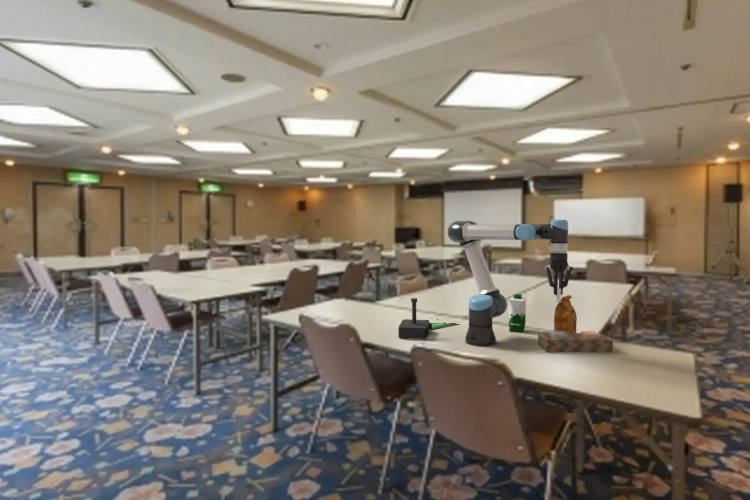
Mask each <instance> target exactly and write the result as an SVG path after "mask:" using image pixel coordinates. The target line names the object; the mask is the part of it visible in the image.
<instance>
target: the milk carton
mask: <svg viewBox="0 0 750 500" xmlns="http://www.w3.org/2000/svg"><path fill="white" fill-rule="evenodd" d="M526 301H527V300H526V298H523V296H522V294H521V293H520V294H519V293H517V294H514V295H513V297H510V298H509V300H508V329H509V332H511V333H523V332H524V331H525V329H526V321H527V319H526V317H527V313H526V312H527V308H526Z"/></svg>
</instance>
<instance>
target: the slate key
mask: <svg viewBox="0 0 750 500" xmlns="http://www.w3.org/2000/svg"><path fill="white" fill-rule="evenodd" d="M548 333H549V335H550V336H551V337H553V338H567V334H566V333H564V332H563V331H554V330H550V331H549V332H548Z"/></svg>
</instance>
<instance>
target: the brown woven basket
mask: <svg viewBox="0 0 750 500" xmlns="http://www.w3.org/2000/svg"><path fill="white" fill-rule="evenodd" d="M597 333H598V334H600V338H585V337H583V336H582V335H581V332H576V333H566V334H567V338H553V337H551V336H550V335H549V332H538V333H537V346H538V345H539V347H540V348H541V349H542V350H543V351H545V353H613V352H614V350H613V349H614V339H612V338H611V337H609V336H607V335H605V334H603V333H601V332H597Z"/></svg>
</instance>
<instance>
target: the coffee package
mask: <svg viewBox="0 0 750 500" xmlns="http://www.w3.org/2000/svg"><path fill="white" fill-rule="evenodd" d="M570 299H572V295H571V294H567V295H564V296H562V297H561V302H557V305H556V306H555V309H554V316H553V331H563V332H564V333H577V322H578V321H577V318H578V317H577V313H576V310H575V307H574V306H573V305H572V302H571V300H570Z"/></svg>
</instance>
